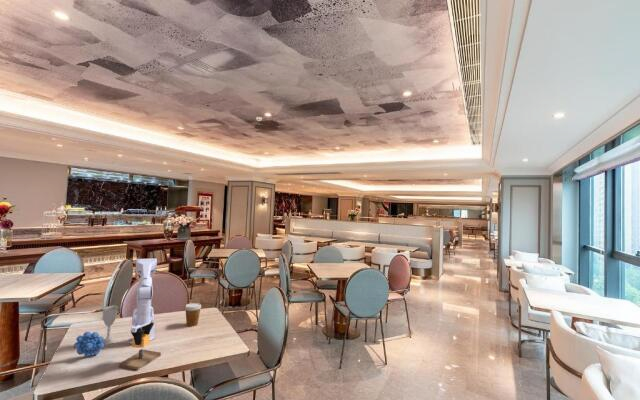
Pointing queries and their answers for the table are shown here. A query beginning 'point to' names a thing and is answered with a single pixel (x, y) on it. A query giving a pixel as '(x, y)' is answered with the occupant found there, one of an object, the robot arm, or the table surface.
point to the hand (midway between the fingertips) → (141, 341)
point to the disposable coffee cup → (192, 313)
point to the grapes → (89, 344)
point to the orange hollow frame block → (144, 341)
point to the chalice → (109, 321)
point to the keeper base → (140, 359)
